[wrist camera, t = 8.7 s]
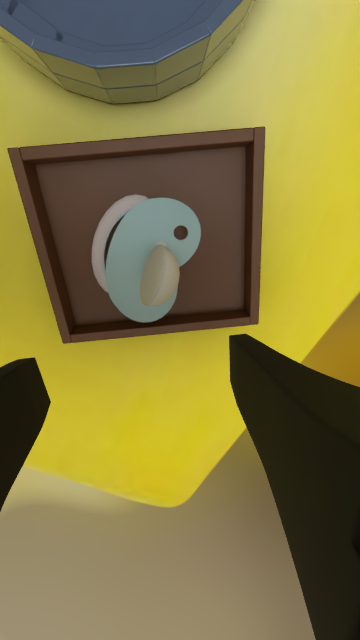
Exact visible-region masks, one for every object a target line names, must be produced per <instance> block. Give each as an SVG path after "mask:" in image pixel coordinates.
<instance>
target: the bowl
mask: <svg viewBox="0 0 360 640" xmlns="http://www.w3.org/2000/svg"><path fill="white" fill-rule="evenodd" d="M255 1H256V0H0V36H1V37H2V38H3V39H4V40H5V42H6V43H7V44H8V45H9V46H10V47H11V48H12V49H13V50H14V51H15V52H16V53H17V54H18V55H19V56H20V57H21V58H22V59H23V60H25V61H26V62H27V63H29V64H30V65H32V66H33V67H35V68H36V69H37V70H39V71H40V72H42V73H43V74H45V75H46V76H47V77H49V78H50V79H52V80H53V81H55V82H56V83H57V84H59V85H60V86H62V87H63V88H65V89H66V90H68V91H71V92H75V93H78V94H81V95H85V96H88V97H91V98H95V99H98V100H101V101H105V102H108V103H111V104H113V103H114V104H117V103H129V102H142V101H154V100H159V99H161V98H163V97H165V96H167V95H169V94H171V93H173V92H175V91H177V90H179V89H181V88H183V87H185V86H187V85H189V84H191V83H193V82H195V81H197V80H198V79H199V78H200V77H201V76H202V75H203V74H204V73H205V72H206V71H207V70H208V69H209V68H210V67H211V66H212V65H213V64H214V63H215V62H216V60H217V59H218V58H219V57H220V56H221V55H222V54H223V53H224V52H225V51H226V50H227V49H228V48H229V47H230V46H231V45H232V44H233V42H234V40H235V39H236V37H237V35H238V33H239V32H240V30H241V28H242V26H243V24H244V22H245V20H246V18H247V16H248V14H249V12H250V10H251V9H252V7H253V5H254V3H255Z"/></svg>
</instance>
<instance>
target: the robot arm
mask: <svg viewBox="0 0 360 640" xmlns="http://www.w3.org/2000/svg"><path fill="white" fill-rule="evenodd" d="M229 349H230V382H231V385H232V389H233V393H234V396H235V399H236V403H237V406H238V408H239V410H240V413H241V415H242V417H243V420H244V422H245V424H246V427H247V429H248V431H249V433H250V436H251V438H252V440H253V442H254V445H255V447H256V449H257V452H258V454H259V456H260V459H261V461H262V463H263V466H264V469H265V471H266V474H267V478H268V481H269V484H270V487H271V490H272V493H273V496H274V499H275V502H276V505H277V509H278V511H279V515H280V518H281V521H282V525H283V528H284V531H285V534H286V537H287V541H288V544H289V548H290V551H291V554H292V558H293V561H294V564H295V568H296V571H297V574H298V578H299V581H300V585H301V588H302V592H303V596H304V599H305V603H306V606H307V610H308V613H309V617H310V621H311V624H312V628H313V631H314V635H315V638H316V640H360V387H357V386H354V385H351V384H348V383H345V382H342V381H340V380H337V379H335V378H332V377H330V376H327V375H325V374H322V373H320V372H317V371H315V370H313V369H310V368H308V367H306V366H304V365H302V364H300V363H298V362H296V361H294V360H292V359H290V358H288V357H286V356H284V355H282V354H281V353H279V352H277V351H275V350H273V349H272V348H270V347H268V346H266V345H265V344H263V343H261V342H260V341H258V340H256V339H254V338H253V337H251V336H249V335H247V334H240V335H231V336H229ZM50 403H51V401H50V399H49V396H48V393H47V390H46V387H45V385H44V382H43V379H42V376H41V373H40V371H39V368H38V365H37V362H36V359H35V358H26V359H18V360H15V361H13V362H11V363H8V364H6V365H4V366H2V367H0V511H1V508H2V506H3V504H4V501H5V499H6V497H7V495H8V493H9V491H10V489H11V487H12V485H13V483H14V481H15V479H16V477H17V475H18V473H19V471H20V470H21V468H22V466H23V464H24V462H25V460H26V458H27V456H28V454H29V452H30V450H31V448H32V446H33V444H34V442H35V440H36V438H37V437H38V435H39V433H40V430H41V428H42V426H43V423H44V421H45V418H46V415H47V412H48V409H49V406H50Z"/></svg>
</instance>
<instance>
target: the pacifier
mask: <svg viewBox="0 0 360 640" xmlns="http://www.w3.org/2000/svg"><path fill="white" fill-rule="evenodd" d="M123 216H124V218H123V219H122V220H121V222H120V223H119V225H118V227H117V229H116V230H115V233H114V235H113V238H112V240H111V243H110V246H109V250H108V255H107V259H106V248H107V243H108V239H109V237H110V234H111V232H112V230H113V228H114V227H115V225H116V224H117V222H118V221H119V220H120V219H121V218H122V217H123ZM179 225H182V226H185V227H186V228H187V230H188V235H187V237H186V238H185V239H182V240H179V239H177V238H175V236H174V233H173V232H174V229H175V228H176V227H177V226H179ZM200 237H201V228H200V223H199V220H198V218H197V216H196V215H195V213H194V212H193V211H192V210H191V209H190V208H189V207H188V206H187V205H185V204H184V203H182V202H180V201H177V200H175V199H170V198H152V199H149V198H147V197H146V196H142V195H137V194H135V195H129V196H125V197H123V198H122V199H120V200H118V201H116V202H115V203H114V204H113V205H112V206H111V207H110V208H109V209H108V210H107V211H106V213H105V214H104V216H103V217H102V219H101V220H100V222H99V224H98V227H97V229H96V232H95V235H94V239H93V244H92V266H93V271H94V275H95V277H96V279H97V281H98V283H99V285H100V286H101V287H102V288H103V289H104V290H105V291H106V292H108V293H109V296H110V298H111V300H112V302H113V303H114V305H115V306H116V307H117V308H118V309H119V311H120V312H122V313H123V314H124V315H125V316H126V317H128V318H130V319H132V320H134V321H137V322H143V323H144V322H153V321H156V320H158V319H160V318H162V317H163V316H164V315H165V314H167V313H168V312H169V310H170V309H171V307H172V306H173V304H174V302H175V299H176V295H177V289H178V282H179V276H180V272H179V267H180V266H182V265H183V264H185V263H186V262H187V261H188V260H189V259H190V258H191V257H192V256H193V254H194V253H195V251H196V249H197V248H198V245H199V242H200Z"/></svg>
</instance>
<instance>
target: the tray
mask: <svg viewBox="0 0 360 640" xmlns="http://www.w3.org/2000/svg"><path fill="white" fill-rule="evenodd" d="M264 150H265V127H255V128H243V129H231V130H219V131H207V132H196V133H184V134H172V135H160V136H148V137H136V138H124V139H112V140H101V141H89V142H77V143H65V144H53V145H41V146H29V147H20V148H18V147H17V148H8V153H9V156H10V160H11V163H12V167H13V170H14V174H15V177H16V181H17V184H18V188H19V191H20V195H21V198H22V202H23V205H24V209H25V212H26V216H27V219H28V223H29V226H30V230H31V233H32V237H33V240H34V244H35V247H36V251H37V254H38V258H39V261H40V265H41V268H42V272H43V275H44V279H45V282H46V286H47V289H48V293H49V296H50V300H51V303H52V307H53V310H54V314H55V317H56V321H57V324H58V328H59V331H60V335H61V338H62V342H63V344H64V343H75V342H85V341H95V340H105V339H115V338H125V337H135V336H145V335H155V334H165V333H175V332H185V331H195V330H205V329H215V328H225V327H235V326H245V325H254V324H258V322H259V293H260V265H261V236H262V207H263V179H264ZM135 194H137V195H142V196H146V197H147V198H149V199H152V198H170V199H175V200H177V201H180V202H182V203H184V204H185V205H187V206H188V207H189V208H190V209H191V210H192V211H193V212H194V213H195V215H196V216H197V218H198V220H199V223H200V228H201V237H200V242H199V245H198V248H197V249H196V251H195V253H194V254H193V256H192V257H191V258H190V259H189V260H188V261H187V262H186V263H185V264H183V265H182V266H180V267H179V272H180V276H179V282H178V289H177V295H176V299H175V302H174V304H173V306H172V307H171V309H170V310H169V312H168V313H167V314H165V315H164V316H163V317H162V318H160V319H158V320H156V321H153V322H144V323H143V322H137V321H134V320H132V319H130V318H128V317H126V316H125V315H124V314H123V313H122V312H120V311H119V309H118V308H117V307H116V306H115V305H114V303H113V302H112V300H111V298H110V296H109V293H108V292H106V291H105V290H104V289H103V288H102V287H101V286H100V285H99V283H98V281H97V279H96V277H95V275H94V271H93V266H92V244H93V239H94V235H95V232H96V229H97V227H98V224H99V222H100V220H101V219H102V217H103V216H104V214H105V213H106V211H107V210H108V209H109V208H110V207H111V206H112V205H113V204H114V203H115V202H116V201H118V200H120V199H122V198H123V197H125V196H129V195H135ZM123 218H124V216H123V217H122V218H121V219H120V220H119V221H118V222H117V224H116V225H115V227H114V228H113V230H112V232H111V234H110V237H109V239H108V243H107V248H106V259H107V255H108V250H109V246H110V243H111V240H112V238H113V235H114V233H115V230H116V229H117V227H118V225H119V223H120V222H121V220H122V219H123ZM173 233H174V236H175V238H177V239H179V240H182V239H185V238H186V237H187V235H188V230H187V228H186V227H185V226H182V225H179V226H177V227H176V228H175V229H174V232H173Z"/></svg>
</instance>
